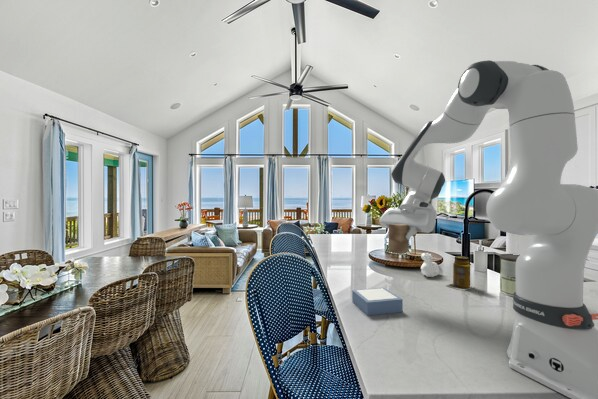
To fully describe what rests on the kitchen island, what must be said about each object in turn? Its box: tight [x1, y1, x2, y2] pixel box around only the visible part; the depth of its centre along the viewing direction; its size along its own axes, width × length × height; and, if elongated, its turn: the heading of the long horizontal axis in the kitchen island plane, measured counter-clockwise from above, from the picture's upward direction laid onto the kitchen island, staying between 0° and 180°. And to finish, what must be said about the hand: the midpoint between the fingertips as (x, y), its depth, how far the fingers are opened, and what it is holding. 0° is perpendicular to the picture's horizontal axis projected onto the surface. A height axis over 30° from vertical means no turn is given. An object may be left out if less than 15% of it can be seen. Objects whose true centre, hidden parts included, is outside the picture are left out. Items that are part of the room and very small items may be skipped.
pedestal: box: [351, 287, 404, 316], centre depth 95 cm, size 12×12×4 cm
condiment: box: [445, 255, 475, 291], centre depth 115 cm, size 7×8×12 cm
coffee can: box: [499, 253, 520, 298], centre depth 106 cm, size 10×10×14 cm
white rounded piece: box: [420, 252, 440, 278], centre depth 133 cm, size 12×8×11 cm
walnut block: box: [388, 223, 410, 255], centre depth 103 cm, size 5×5×10 cm
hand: (397, 237), depth 102 cm, fingers closed on walnut block, 5 cm apart
